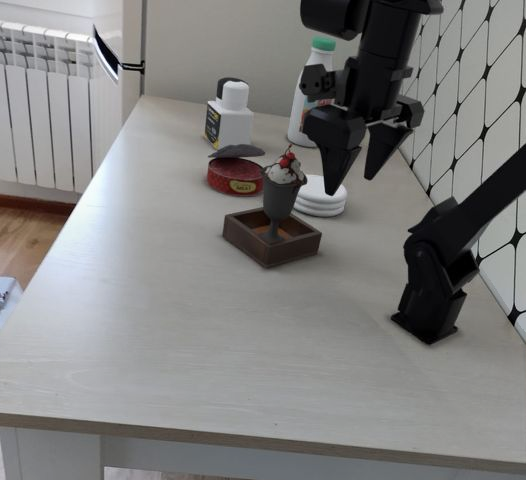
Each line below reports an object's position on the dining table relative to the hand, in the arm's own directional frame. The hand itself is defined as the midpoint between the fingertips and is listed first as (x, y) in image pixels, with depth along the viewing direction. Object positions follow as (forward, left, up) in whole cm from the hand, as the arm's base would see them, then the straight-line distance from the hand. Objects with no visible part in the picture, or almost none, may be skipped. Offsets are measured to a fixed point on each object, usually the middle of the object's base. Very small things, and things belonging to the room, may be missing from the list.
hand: (349, 186), depth 74 cm
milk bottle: (+43, -36, -13) cm, 58 cm away
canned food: (+30, -7, -13) cm, 33 cm away
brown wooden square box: (+10, +2, -13) cm, 17 cm away
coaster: (+18, -15, -13) cm, 27 cm away
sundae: (+10, +2, -12) cm, 16 cm away
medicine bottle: (+46, -18, -13) cm, 51 cm away
